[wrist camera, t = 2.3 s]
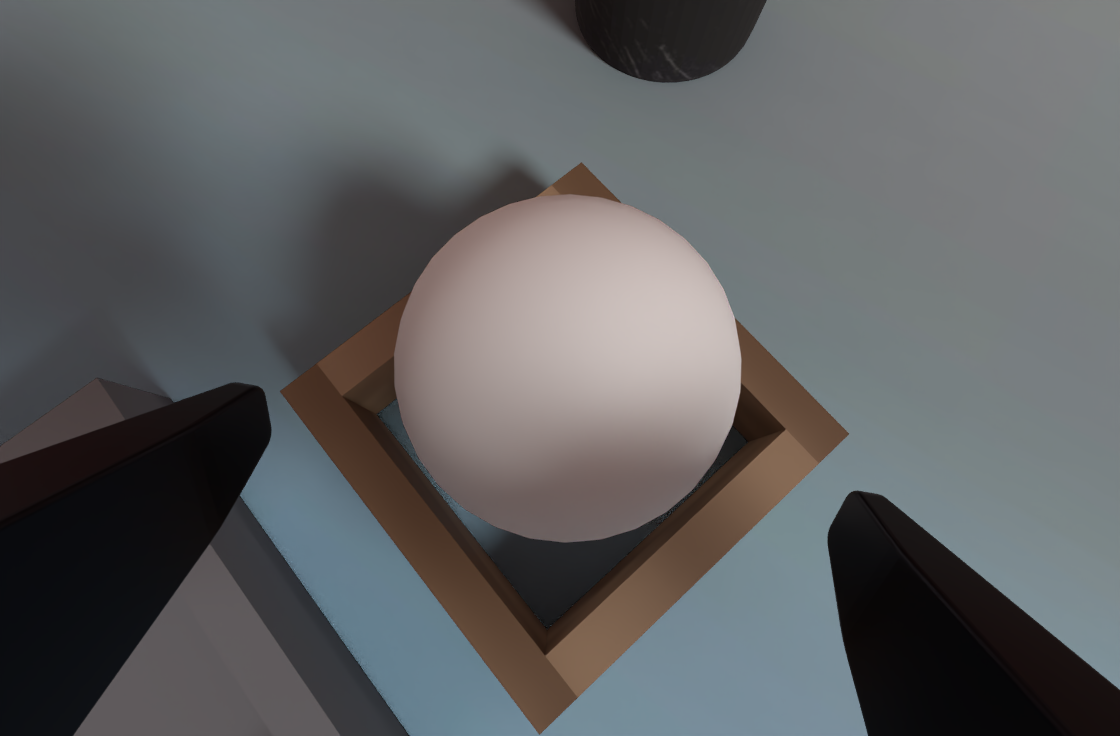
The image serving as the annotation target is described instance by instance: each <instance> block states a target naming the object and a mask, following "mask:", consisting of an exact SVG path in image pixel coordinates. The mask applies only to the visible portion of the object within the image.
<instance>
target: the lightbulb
mask: <svg viewBox="0 0 1120 736" xmlns="http://www.w3.org/2000/svg"><path fill="white" fill-rule="evenodd" d="M394 386H395V391H396V396H397V400H398V405H399V409H400V414H401V418H402V422H403V425H404V427H405V429H406V432H407V434H408V436H409V438H410V441H411V443H412V445H413V447H414V449H415V452H416V454H417V456H418V458H419V459H420V461H421V462H422V464H423V465H424V466H425V468H426V469H427V470H428V472H429V473H430V475H431V476H432V477H433V479H434V480H435V481H436V483H437V484H438V485H439V486H440V487H441V488H442V489H443V490H444V491H445V492H446V493H447V494H448V495H450V496H451V497H452V498H453V499H454V500H455V501H456V502H457V503H458V504H460V505H461V506H462V507H463V508H464V509H465V510H467V511H469V512H470V513H472V514H474V515H476V516H477V517H479V518H481V519H482V520H484V521H486V522H488V523H489V524H491V525H493V526H494V527H497V528H500V529H503V530H506V531H509V532H512V533H515V534H518V535H521V536H524V537H527V538H530V539H539V540H547V541H556V542H564V543H567V542H578V541H589V540H601V539H604V538H608V537H611V536H614V535H618V534H621V533H624V532H627V531H631V530H634V529H636V528H638V527H640V526H642V525H644V524H646V523H647V522H649V521H651V520H653V519H655V518H657V517H658V516H660V515H662V514H664V513H666V512H667V511H668V510H670V509H671V508H672V507H673V506H674V505H675V504H677V503H678V502H679V501H680V500H681V499H682V498H684V497H685V496H686V495H687V494H688V493H689V492H691V491H692V490H693V489H694V487H695V486H696V485H697V484H698V482H699V481H700V480H701V478H702V477H703V476H704V474H705V473H706V472H707V470H708V469H709V468H710V467H711V465H712V464H713V463H714V461H715V459H716V458H717V456H718V454H719V452H720V450H721V447H722V445H723V443H724V441H725V439H726V437H727V435H728V433H729V431H730V429H731V427H732V424H733V420H734V416H735V412H736V408H737V404H738V399H739V395H740V386H741V353H740V346H739V340H738V334H737V329H736V323H735V318H734V315H733V313H732V310H731V307H730V305H729V302H728V300H727V297H726V294H725V292H724V289H723V287H722V286H721V284H720V283H719V281H718V279H717V278H716V276H715V275H714V273H713V271H712V270H711V268H710V267H709V265H708V263H707V262H706V261H705V260H704V259H703V258H702V257H701V255H700V254H699V253H698V252H697V251H696V250H695V249H694V248H693V247H692V246H691V245H690V244H689V243H688V241H687V240H686V239H685V238H683V237H682V236H681V235H679V234H678V233H677V232H675V231H674V230H672V229H671V228H670V227H668V226H667V225H666V224H664V223H663V222H662V221H660V220H659V219H657V218H655V217H653V216H650V215H648V214H646V213H644V212H642V211H640V210H638V209H636V208H634V207H632V206H629V205H626V204H622V203H619V202H615V201H612V200H608V199H605V198H601V197H592V196H582V195H573V194H567V195H553V196H539V197H535V198H531V199H527V200H523V201H519V202H515V203H511V204H508V205H506V206H504V207H501V208H499V209H497V210H495V211H492V212H490V213H488V214H486V215H484V216H481V217H480V218H478V219H477V220H475V221H474V222H472V223H471V224H470V225H468V226H467V227H465V228H464V229H462V230H461V231H459V232H458V233H457V234H455V235H454V236H453V237H452V238H451V239H450V240H449V241H448V242H447V243H446V244H445V245H444V246H443V247H442V248H441V249H440V250H439V251H438V252H437V253H436V254H435V255H434V256H433V257H432V259H431V260H430V262H429V263H428V265H427V266H426V268H425V269H424V271H423V272H422V274H421V275H420V277H419V278H418V280H417V282H416V283H415V285H414V287H413V290H412V292H411V295H410V297H409V300H408V302H407V304H406V307H405V309H404V312H403V315H402V318H401V321H400V326H399V331H398V336H397V341H396V346H395V351H394Z"/></svg>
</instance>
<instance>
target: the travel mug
mask: <svg viewBox="0 0 1120 736" xmlns="http://www.w3.org/2000/svg"><path fill="white" fill-rule="evenodd" d="M765 3H766V0H575V6H576V14H577V20H578V23H579V26H580V29H581V31H582V33H583V35H584V37H585V39H586V41H587V42H588V44H589V45H590V46H591V48H592V49H593V50H594V51H595V52H596V53H597V54H598V55H599V56H600V57H601V58H602V59H603V60H605V61H606V62H607V63H608V64H610V65H612V66H613V67H615V68H616V69H618V70H620V71H622V72H624V73H626V74H629V75H631V76H634V77H637V78H640V79H645V80H649V81H656V82H682V81H689V80H693V79H697V78H700V77H703V76H706V75H709V74H711V73H713V72H715V71H717V70H718V69H720V68H721V67H723V66H724V65H726V64H727V63H728V62H730V61H731V60H732V59H733V58H734V57H735V56H736V55H737V54H738V52H739V51H740V50H741V49H742V47H743V46H744V45H745V43H746V41H747V39H748V38H749V36H750V34H751V32H752V30H753V28H754V26H755V24H756V22H757V20H758V18H759V15H760V13H761V11H762V9H763V7H764V5H765Z"/></svg>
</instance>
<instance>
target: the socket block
mask: <svg viewBox="0 0 1120 736" xmlns="http://www.w3.org/2000/svg"><path fill="white" fill-rule="evenodd" d="M567 194H573V195H582V196H592V197H601V198H605V199H608V200H612V201H615V202H619V203H621V202H620V201H619V200H618V199H617V198H616V197H615V196H614V195H613V194H612V193H611V192H610V191H609V190H608V189H607V188H606V187H605V186H604V185H603V184H602V183H601V182H600V181H599V180H598V179H597V178H596V177H595V176H594V175H593V174H592V173H591V172H590V171H589V170H588V169H587V168H586V166H585V165H584V164H583V163H582V162H581V163H580V164H579V165H577V166H576V167H575V168H573V169H572V170H571V171H570V172H568V173H567V174H566V175H564V176H563V177H562V178H560V179H559V180H558V181H556V182H555V183H554V184H552V185H551V186H550V187H548V188H547V189H546V190H545V191H543V192H542V193H541V194H539V195H538V196H537V197H539V196H553V195H567ZM411 292H412V291H411ZM411 292H410V293H409V294H408V295H406V296H405V297H404V298H402V299H401V300H400V301H398V302H397V303H396V304H394V305H393V306H392V307H390V308H389V309H388V310H386V311H385V312H384V313H382V314H381V315H380V316H379V317H377V318H376V319H375V320H373V321H372V322H371V323H369V324H368V325H367V326H365V327H364V328H363V329H361V330H360V331H359V332H357V333H356V334H355V335H353V336H352V337H351V338H350V339H348V340H347V341H346V342H344V343H343V344H342V345H340V346H339V347H338V348H336V349H335V350H334V351H332V352H331V353H330V354H328V355H327V356H326V357H325V358H323V359H322V360H321V361H319V362H318V363H317V364H315V365H314V366H313V367H311V368H310V369H309V370H307V371H306V372H305V373H303V374H302V375H301V376H299V377H298V378H297V379H296V380H294V381H293V382H292V383H290V384H289V385H288V386H286V387H285V388H284V389H282V390H281V391H280V392H281V394H282V395H283V396H284V398H285V399H286V400H287V402H288V403H289V404H290V405H291V407H292V408H293V409H294V411H295V412H296V413H297V415H298V416H299V417H300V419H301V420H302V421H303V423H304V424H305V425H306V427H307V428H308V429H309V431H310V432H311V433H312V435H313V436H314V437H315V439H316V440H317V441H318V443H319V444H320V445H321V446H322V448H323V449H324V450H325V452H326V453H327V454H328V456H329V457H330V458H331V460H332V461H333V462H334V464H335V465H336V466H337V468H338V469H339V470H340V472H341V473H342V474H343V476H344V477H345V478H346V480H347V481H348V482H349V483H350V485H351V486H352V487H353V489H354V490H355V491H356V493H357V494H358V495H359V497H360V498H361V499H362V501H363V502H364V503H365V505H366V506H367V507H368V509H369V510H370V511H371V513H372V514H373V515H374V517H375V518H376V519H377V521H378V522H379V523H380V524H381V526H382V527H383V528H384V530H385V531H386V532H387V534H388V535H389V536H390V538H391V539H392V540H393V542H394V543H395V544H396V546H397V547H398V548H399V550H400V551H401V552H402V554H403V555H404V556H405V558H406V559H407V560H408V561H409V563H410V564H411V565H412V567H413V568H414V569H415V571H416V572H417V573H418V575H419V576H420V577H421V579H422V580H423V581H424V583H425V584H426V585H427V587H428V588H429V589H430V591H431V592H432V593H433V595H434V596H435V597H436V599H437V600H438V601H439V602H440V604H441V605H442V606H443V608H444V609H445V610H446V612H447V613H448V614H449V616H450V617H451V618H452V620H453V621H454V622H455V624H456V625H457V626H458V628H459V629H460V630H461V632H462V633H463V634H464V636H465V637H466V638H467V639H468V641H469V642H470V643H471V645H472V646H473V647H474V649H475V650H476V651H477V653H478V654H479V655H480V657H481V658H482V659H483V661H484V662H485V663H486V665H487V666H488V667H489V669H490V670H491V671H492V673H493V674H494V675H495V677H496V678H497V679H498V680H499V682H500V683H501V684H502V686H503V687H504V688H505V690H506V691H507V692H508V694H509V695H510V696H511V698H512V699H513V700H514V702H515V703H516V704H517V706H518V707H519V708H520V710H521V711H522V712H523V714H524V715H525V716H526V717H527V719H528V720H529V721H530V723H531V724H532V725H533V727H534V728H535V729H536V731H537V732H538V733H539V735H540V734H541V733H542V732H543V731H544V730H545V729H546V728H547V727H548V726H549V725H550V724H551V723H552V722H553V721H554V720H555V719H556V718H557V717H558V716H559V715H560V714H561V713H562V712H563V711H564V710H565V709H566V708H568V707H569V706H570V705H571V704H572V703H573V702H574V701H575V700H576V699H577V698H578V697H579V696H580V695H581V694H582V693H583V692H584V691H585V690H586V689H587V688H588V687H589V686H590V685H591V684H592V683H593V682H594V681H595V680H596V679H597V678H598V677H599V676H600V675H601V674H603V673H604V672H605V671H606V670H607V669H608V668H609V667H610V666H611V665H612V664H613V663H614V662H615V661H616V660H617V659H618V658H619V657H620V656H621V655H622V654H623V653H624V652H625V651H626V650H627V649H628V648H629V647H630V646H631V645H632V644H633V643H634V642H635V641H637V640H638V639H639V638H640V637H641V636H642V635H643V634H644V633H645V632H646V631H647V630H648V629H649V628H650V627H651V626H652V625H653V624H654V623H655V622H656V621H657V620H658V619H659V618H660V617H661V616H662V615H663V614H664V613H665V612H666V611H667V610H668V609H669V608H670V607H672V606H673V605H674V604H675V603H676V602H677V601H678V600H679V599H680V598H681V597H682V596H683V595H684V594H685V593H686V592H687V591H688V590H689V589H690V588H691V587H692V586H693V585H694V584H695V583H696V582H697V581H698V580H699V579H700V578H701V577H702V576H703V575H704V574H706V573H707V572H708V571H709V570H710V569H711V568H712V567H713V566H714V565H715V564H716V563H717V562H718V561H719V560H720V559H721V558H722V557H723V556H724V555H725V554H726V553H727V552H728V551H729V550H730V549H731V548H732V547H733V546H734V545H735V544H736V543H737V542H738V541H739V540H741V539H742V538H743V537H744V536H745V535H746V534H747V533H748V532H749V531H750V530H751V529H752V528H753V527H754V526H755V525H756V524H757V523H758V522H759V521H760V520H761V519H762V518H763V517H764V516H765V515H766V514H767V513H768V512H769V511H770V510H771V509H772V508H773V507H774V506H776V505H777V504H778V503H779V502H780V501H781V500H782V499H783V498H784V497H785V496H786V495H787V494H788V493H789V492H790V491H791V490H792V489H793V488H794V487H795V486H796V485H797V484H798V483H799V482H800V481H801V480H802V479H803V478H804V477H805V476H806V475H807V474H808V473H810V472H811V471H812V470H813V469H814V468H815V467H816V466H817V465H818V464H819V463H820V462H821V461H822V460H823V459H824V458H825V457H826V456H827V455H828V454H829V453H830V452H831V451H832V450H833V449H834V448H835V447H836V446H837V445H838V444H839V443H840V442H841V441H842V440H843V439H845V438H846V437H847V436H848V435H849V433H848V432H847V431H846V430H845V429H844V428H843V427H842V426H841V425H840V424H839V423H838V422H837V421H836V420H835V419H834V418H833V417H832V416H831V415H830V414H829V413H828V412H827V411H826V410H825V409H824V408H823V407H822V406H821V405H820V404H819V403H818V402H817V401H816V400H815V399H814V398H813V397H812V396H811V395H810V394H809V393H808V392H807V391H806V390H805V389H804V388H803V386H802V385H801V384H800V383H799V382H798V381H797V380H796V379H795V378H794V377H793V376H792V375H791V374H790V373H789V372H788V371H787V370H786V369H785V368H784V367H783V366H782V365H781V364H780V363H779V362H778V361H777V360H776V359H775V358H774V357H773V356H772V355H771V354H770V353H769V352H768V351H767V350H766V349H765V348H764V347H763V346H762V345H761V344H760V343H759V342H758V341H757V340H756V339H755V338H754V337H753V336H752V335H751V334H750V333H749V332H748V331H747V330H746V329H745V328H744V327H743V326H742V325H741V324H740V323H739V322H738V321H737V320H736V319H735V323H736V329H737V334H738V340H739V346H740V353H741V386H740V395H739V399H738V404H737V408H736V412H735V416H734V420H733V424H732V425H733V426H734V427H735V428H736V429H737V431H738V432H739V433H740V434H741V435H742V436H743V437H744V438H745V439H746V440H747V441H748V443H747V444H746V445H745V446H744V447H743V448H741V449H740V450H739V451H738V452H737V453H736V454H735V455H734V456H733V457H732V458H731V459H730V460H729V461H727V462H726V463H725V464H724V465H723V466H722V467H721V468H720V469H719V470H718V471H717V472H716V473H715V474H714V475H712V476H711V477H710V478H709V479H708V480H707V481H706V482H705V483H704V484H703V485H702V486H701V487H700V488H699V489H697V490H696V491H695V492H694V493H693V494H692V495H691V496H690V497H689V498H688V499H687V500H686V501H685V502H684V503H682V504H681V505H680V506H679V507H678V508H677V509H676V510H675V511H674V512H673V513H672V514H671V515H670V516H669V517H667V518H666V519H665V520H664V521H663V522H662V523H661V524H660V525H659V526H658V527H657V528H656V529H655V530H654V531H652V532H651V533H650V534H649V535H648V536H647V537H646V538H645V539H644V540H643V541H642V542H641V543H640V544H639V545H637V546H636V547H635V548H634V549H633V550H632V551H631V552H630V553H629V554H628V555H627V556H626V557H625V558H623V559H622V560H621V561H620V562H619V563H618V564H617V565H616V566H615V567H614V568H613V569H612V570H611V571H610V572H608V573H607V574H606V575H605V576H604V577H603V578H602V579H601V580H600V581H599V582H598V583H597V584H596V585H595V586H593V587H592V588H591V589H590V590H589V591H588V592H587V593H586V594H585V595H584V596H583V597H582V598H581V599H580V600H578V601H577V602H576V603H575V604H574V605H573V606H572V607H571V608H570V609H569V610H568V611H567V612H566V613H565V614H563V615H562V616H561V617H560V618H559V619H558V620H557V621H556V622H555V623H554V624H553V625H552V626H551V627H550V628H548V629H546V628H545V627H544V625H543V624H542V623H541V622H540V620H539V619H538V618H537V617H536V615H535V614H534V613H533V612H532V610H531V609H530V608H529V606H528V605H527V604H526V603H525V601H524V600H523V599H522V598H521V596H520V595H519V594H518V593H517V591H516V590H515V589H514V587H513V586H512V585H511V584H510V582H509V581H508V580H507V579H506V577H505V576H504V575H503V574H502V572H501V571H500V570H499V569H498V567H497V566H496V565H495V563H494V562H493V561H492V560H491V558H490V557H489V556H488V555H487V553H486V552H485V551H484V550H483V548H482V547H481V546H480V544H479V543H478V542H477V541H476V539H475V538H474V537H473V536H472V534H471V533H470V532H469V531H468V529H467V528H466V527H465V526H464V524H463V523H462V522H461V520H460V519H459V518H458V517H457V515H456V514H455V513H454V512H453V510H452V509H451V508H450V507H449V505H448V504H447V503H446V501H445V500H444V499H443V498H442V496H441V495H440V494H439V493H438V491H437V490H436V489H435V488H434V486H433V485H432V484H431V483H430V481H429V480H428V479H427V477H426V476H425V475H424V474H423V472H422V471H421V470H420V469H419V467H418V466H417V465H416V464H415V462H414V461H413V460H412V458H411V457H410V456H409V455H408V453H407V452H406V451H405V450H404V448H403V447H402V446H401V445H400V443H399V442H398V441H397V440H396V438H395V437H394V436H393V434H392V433H391V432H390V431H389V429H388V428H387V427H386V426H385V424H384V423H383V422H382V421H381V419H380V418H379V417H378V415H377V413H379V412H380V411H381V410H382V409H384V408H385V407H386V406H387V405H389V404H390V403H391V402H392V401H394V400H395V399H396V398H397V396H396V391H395V386H394V351H395V346H396V341H397V336H398V331H399V326H400V321H401V318H402V315H403V312H404V309H405V307H406V304H407V302H408V300H409V297H410V295H411Z"/></svg>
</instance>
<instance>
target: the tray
mask: <svg viewBox="0 0 1120 736" xmlns="http://www.w3.org/2000/svg"><path fill="white" fill-rule="evenodd" d="M172 403H173V401H172V400H171V399H170V398H166V397H163V396H159V395H156V394H152V393H149V392H145V391H142V390H138V389H135V388H131V387H128V386H124V385H121V384H117V383H114V382H110V381H106V380H103V379H99V378H96V379H94V380H93V381H91V382H90V383H89V384H87V385H86V386H84V387H83V388H82V389H80V390H79V391H77V392H76V393H75V394H73V395H72V396H70V397H69V398H67V399H66V400H65V401H63V402H62V403H60V404H59V405H58V406H56V407H55V408H53V409H52V410H51V411H49V412H48V413H46V414H45V415H43V416H42V417H41V418H39V419H38V420H36V421H35V422H34V423H32V424H31V425H29V426H28V427H27V428H25V429H24V430H22V431H21V432H19V433H18V434H17V435H15V436H14V437H12V438H11V439H10V440H8V441H7V442H5V443H4V444H3V445H1V446H0V463H3V462H6V461H9V460H11V459H14V458H17V457H20V456H23V455H26V454H29V453H31V452H34V451H37V450H40V449H43V448H46V447H49V446H52V445H54V444H57V443H60V442H63V441H66V440H69V439H72V438H74V437H77V436H80V435H83V434H86V433H89V432H92V431H95V430H97V429H100V428H103V427H106V426H109V425H112V424H115V423H117V422H120V421H123V420H126V419H129V418H132V417H135V416H138V415H140V414H143V413H146V412H149V411H152V410H155V409H158V408H161V407H163V406H166V405H169V404H172ZM73 736H409V735H408V734H407V732H406V731H405V730H404V728H403V727H402V725H401V724H400V723H399V721H398V720H397V718H396V717H395V715H394V714H393V713H392V711H391V710H390V708H389V707H388V706H387V704H386V703H385V701H384V700H383V698H382V697H381V696H380V694H379V693H378V691H377V690H376V689H375V687H374V686H373V684H372V683H371V681H370V680H369V679H368V677H367V676H366V674H365V673H364V672H363V670H362V669H361V667H360V666H359V664H358V663H357V662H356V660H355V659H354V657H353V656H352V655H351V653H350V652H349V650H348V649H347V647H346V646H345V645H344V643H343V642H342V640H341V639H340V638H339V636H338V635H337V633H336V632H335V631H334V629H333V628H332V626H331V625H330V623H329V622H328V621H327V619H326V618H325V616H324V615H323V614H322V612H321V611H320V609H319V608H318V606H317V605H316V604H315V602H314V601H313V599H312V598H311V597H310V595H309V594H308V592H307V591H306V589H305V588H304V587H303V585H302V584H301V582H300V581H299V580H298V578H297V577H296V575H295V574H294V572H293V571H292V570H291V568H290V567H289V565H288V564H287V563H286V561H285V560H284V558H283V557H282V556H281V554H280V553H279V551H278V550H277V548H276V547H275V546H274V544H273V543H272V541H271V540H270V539H269V537H268V536H267V534H266V533H265V531H264V530H263V529H262V527H261V526H260V524H259V523H258V522H257V520H256V519H255V517H254V516H253V514H252V513H251V512H250V510H249V509H248V507H247V506H246V505H245V503H244V502H243V500H242V499H241V497H240V496H239V497H238V499H237V501H236V503H235V504H234V506H233V508H232V510H231V511H230V513H229V515H228V517H227V518H226V520H225V521H224V523H223V525H222V526H221V528H220V529H219V531H218V532H217V534H216V535H215V537H214V538H213V540H212V541H211V543H210V544H209V546H208V547H207V548H206V550H205V551H204V553H203V554H202V555H201V557H200V558H199V560H198V561H197V562H196V564H195V565H194V567H193V568H192V569H191V571H190V572H189V574H188V575H187V576H186V578H185V579H184V581H183V582H182V583H181V585H180V586H179V588H178V589H177V591H176V592H175V593H174V595H173V596H172V598H171V599H170V600H169V602H168V603H167V605H166V606H165V607H164V609H163V610H162V612H161V613H160V614H159V616H158V617H157V619H156V620H155V621H154V623H153V624H152V626H151V627H150V629H149V630H148V631H147V633H146V634H145V636H144V637H143V638H142V640H141V641H140V643H139V644H138V645H137V647H136V648H135V650H134V651H133V652H132V654H131V655H130V657H129V658H128V659H127V661H126V662H125V664H124V665H123V666H122V668H121V669H120V671H119V672H118V674H117V675H116V676H115V678H114V679H113V681H112V682H111V683H110V685H109V686H108V688H107V689H106V690H105V692H104V693H103V695H102V696H101V697H100V699H99V700H98V702H97V703H96V704H95V706H94V707H93V709H92V710H91V712H90V713H89V714H88V716H87V717H86V719H85V720H84V721H83V723H82V724H81V726H80V727H79V728H78V730H77V731H76V733H75V734H74V735H73Z"/></svg>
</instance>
